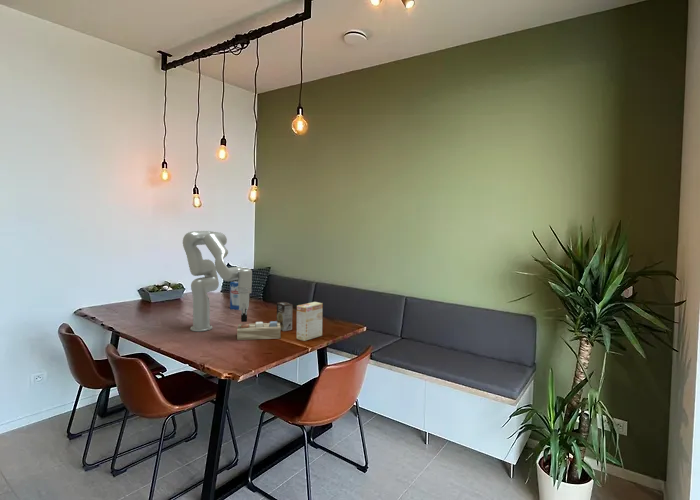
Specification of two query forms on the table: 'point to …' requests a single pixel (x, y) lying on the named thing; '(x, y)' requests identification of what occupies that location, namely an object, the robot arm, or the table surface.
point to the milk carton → (234, 296)
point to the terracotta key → (245, 326)
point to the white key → (259, 324)
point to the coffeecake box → (309, 320)
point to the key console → (258, 332)
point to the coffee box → (284, 315)
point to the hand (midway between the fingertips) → (244, 321)
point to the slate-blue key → (273, 324)
